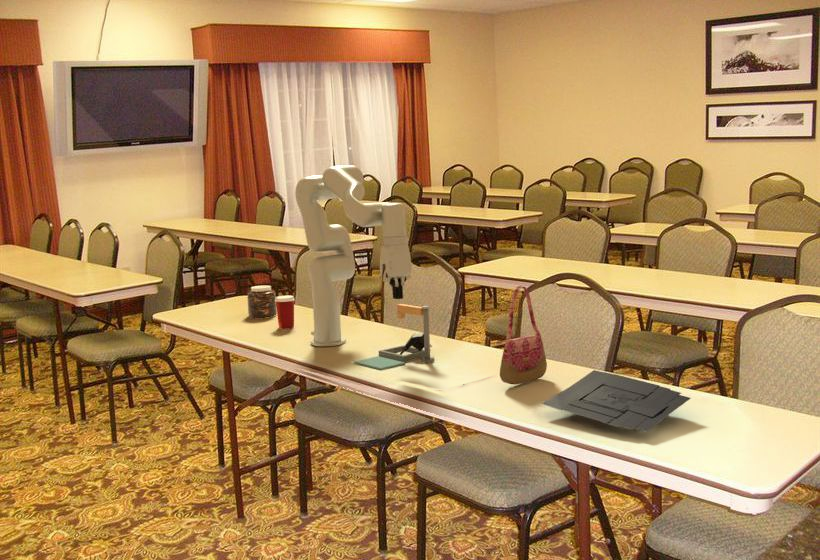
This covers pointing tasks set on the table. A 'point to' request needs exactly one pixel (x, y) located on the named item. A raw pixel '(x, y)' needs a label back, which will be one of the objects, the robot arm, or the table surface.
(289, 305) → the paper cup
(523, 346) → the shoulder bag
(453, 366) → the table surface
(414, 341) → the power plug
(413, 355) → the plug dock
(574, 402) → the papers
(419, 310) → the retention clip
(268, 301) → the jar
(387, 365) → the mat
